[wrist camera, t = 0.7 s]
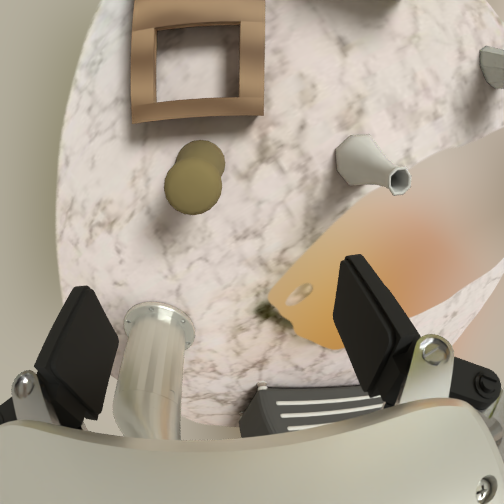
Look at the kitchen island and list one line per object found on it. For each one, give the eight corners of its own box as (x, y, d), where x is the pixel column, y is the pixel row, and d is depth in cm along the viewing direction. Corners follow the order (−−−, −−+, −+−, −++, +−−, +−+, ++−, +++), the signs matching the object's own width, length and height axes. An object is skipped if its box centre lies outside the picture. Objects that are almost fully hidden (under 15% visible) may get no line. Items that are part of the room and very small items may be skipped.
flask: (386, 172, 34) (429, 197, 26) (344, 192, 35) (380, 224, 27) (371, 125, 31) (417, 138, 22) (326, 145, 32) (363, 163, 23)
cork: (168, 150, 30) (145, 172, 21) (216, 133, 30) (213, 146, 20) (185, 194, 33) (172, 233, 24) (231, 178, 33) (236, 212, 23)
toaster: (366, 407, 74) (388, 465, 54) (236, 414, 64) (245, 493, 44) (400, 374, 66) (431, 438, 45) (257, 379, 55) (272, 479, 35)
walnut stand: (259, 114, 29) (263, 115, 26) (140, 121, 28) (132, 123, 25) (261, -37, 18) (265, -49, 15) (147, -29, 16) (140, -40, 13)
